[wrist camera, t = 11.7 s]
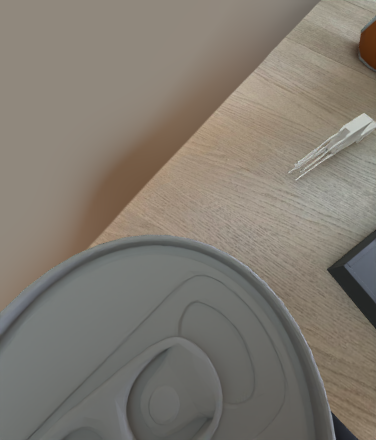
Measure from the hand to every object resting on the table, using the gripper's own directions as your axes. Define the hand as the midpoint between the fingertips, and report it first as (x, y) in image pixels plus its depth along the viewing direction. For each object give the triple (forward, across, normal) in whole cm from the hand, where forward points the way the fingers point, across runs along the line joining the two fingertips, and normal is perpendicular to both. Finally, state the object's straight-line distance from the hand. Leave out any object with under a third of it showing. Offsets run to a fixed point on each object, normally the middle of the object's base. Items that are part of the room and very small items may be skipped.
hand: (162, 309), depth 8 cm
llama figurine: (+26, -22, -9) cm, 36 cm away
